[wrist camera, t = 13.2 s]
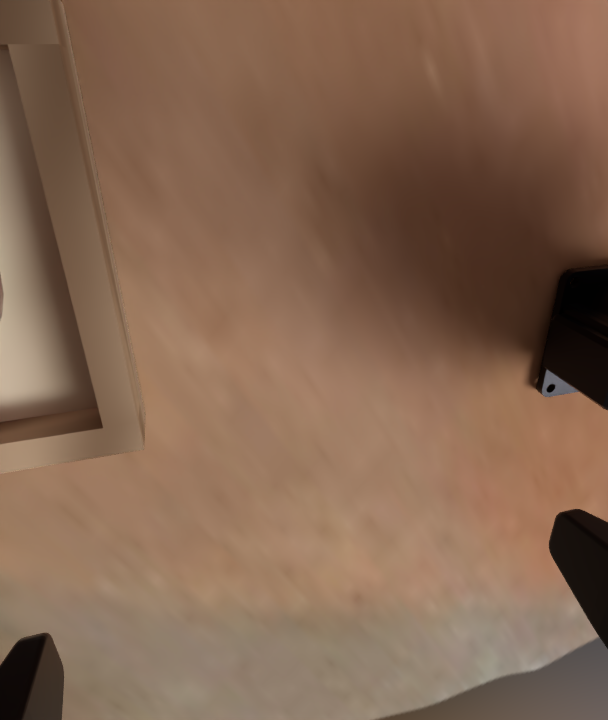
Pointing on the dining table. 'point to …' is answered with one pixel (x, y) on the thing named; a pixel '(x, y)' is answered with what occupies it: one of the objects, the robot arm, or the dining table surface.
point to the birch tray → (56, 262)
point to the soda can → (1, 297)
